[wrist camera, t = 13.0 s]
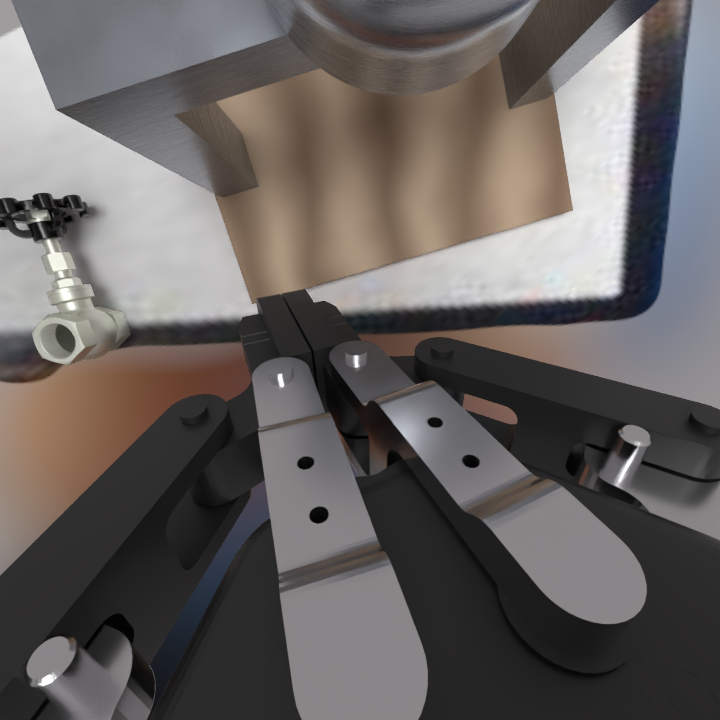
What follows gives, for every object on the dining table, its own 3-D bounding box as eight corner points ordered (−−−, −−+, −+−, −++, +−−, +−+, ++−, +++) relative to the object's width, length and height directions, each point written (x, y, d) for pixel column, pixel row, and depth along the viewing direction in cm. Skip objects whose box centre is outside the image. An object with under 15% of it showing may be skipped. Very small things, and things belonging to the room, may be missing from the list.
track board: (256, 302, 36) (252, 304, 34) (165, 34, 31) (156, 22, 30) (563, 212, 34) (573, 210, 33) (514, -81, 30) (522, -99, 28)
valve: (154, 341, 36) (104, 201, 34) (111, 357, 30) (45, 186, 27) (83, 358, 37) (28, 221, 34) (25, 378, 30) (-47, 210, 28)
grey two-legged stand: (235, 236, 33) (-78, 153, 9) (190, 102, 31) (-376, -467, 7) (554, 139, 32) (1164, -251, 8) (530, -7, 30) (1268, -1156, 6)
